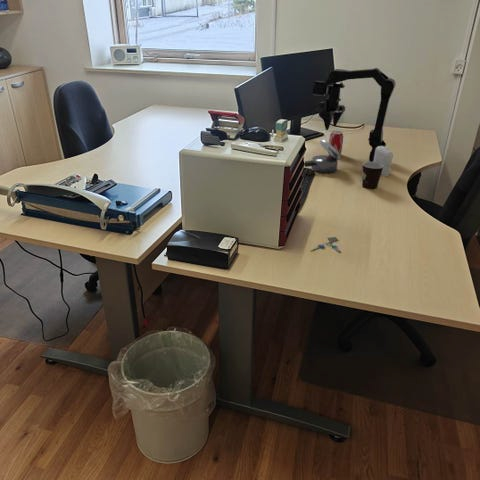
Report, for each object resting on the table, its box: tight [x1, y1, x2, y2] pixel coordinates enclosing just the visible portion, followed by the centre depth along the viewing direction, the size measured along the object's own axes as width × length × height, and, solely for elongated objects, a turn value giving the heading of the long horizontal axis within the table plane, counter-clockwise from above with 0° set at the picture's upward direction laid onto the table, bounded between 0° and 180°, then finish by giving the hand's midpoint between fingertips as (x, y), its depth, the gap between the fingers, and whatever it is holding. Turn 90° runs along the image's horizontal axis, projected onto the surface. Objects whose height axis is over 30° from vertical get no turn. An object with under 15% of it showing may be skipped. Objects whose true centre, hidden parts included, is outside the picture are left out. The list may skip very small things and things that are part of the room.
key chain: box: [310, 236, 342, 253], centre depth 148 cm, size 14×8×1 cm, turn 141°
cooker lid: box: [319, 139, 342, 160], centre depth 209 cm, size 12×12×2 cm
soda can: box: [327, 130, 344, 157], centre depth 229 cm, size 7×7×12 cm
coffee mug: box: [361, 161, 383, 190], centre depth 193 cm, size 12×9×10 cm
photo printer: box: [373, 146, 394, 177], centre depth 207 cm, size 10×4×12 cm, turn 17°
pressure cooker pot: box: [304, 154, 339, 175], centre depth 211 cm, size 18×12×5 cm, turn 113°
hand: (330, 128), depth 226 cm, fingers open, 9 cm apart
